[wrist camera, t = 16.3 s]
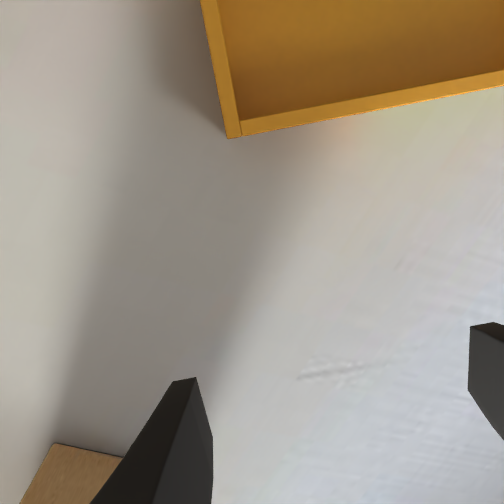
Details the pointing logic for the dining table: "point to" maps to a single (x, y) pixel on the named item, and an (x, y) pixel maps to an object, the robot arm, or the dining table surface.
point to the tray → (346, 56)
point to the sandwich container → (70, 476)
